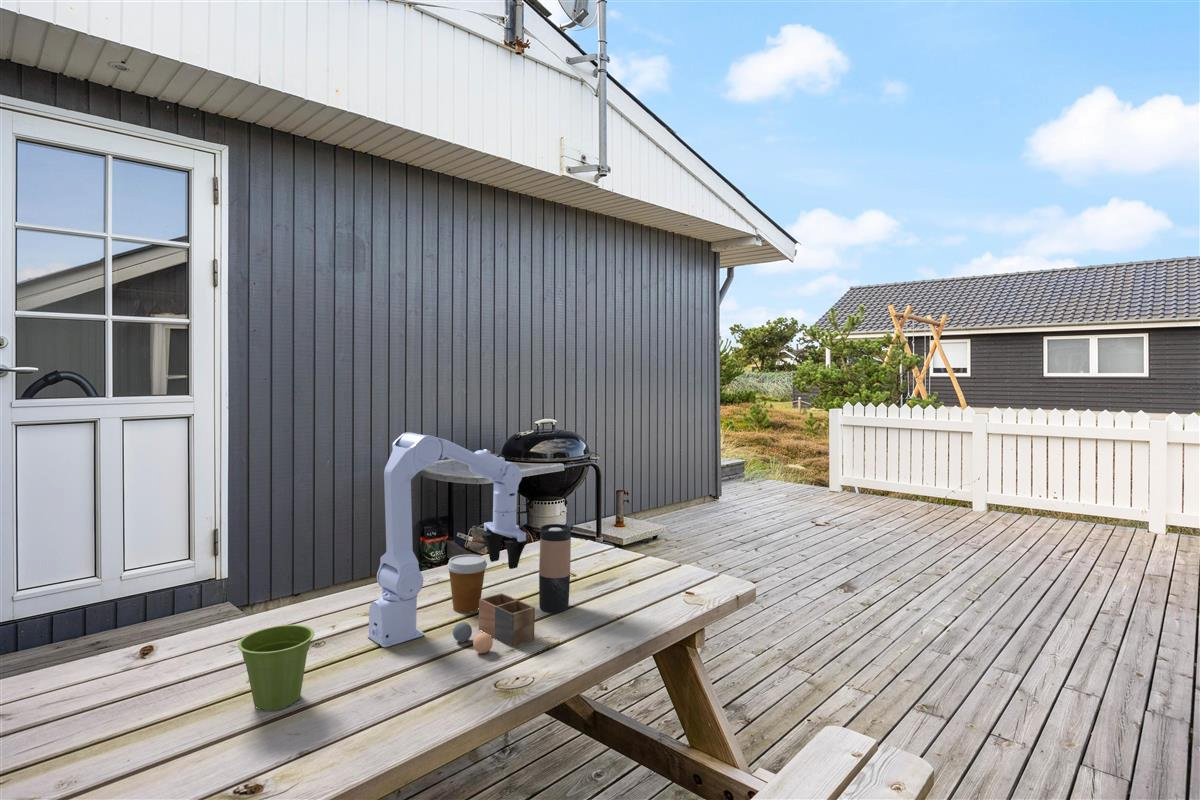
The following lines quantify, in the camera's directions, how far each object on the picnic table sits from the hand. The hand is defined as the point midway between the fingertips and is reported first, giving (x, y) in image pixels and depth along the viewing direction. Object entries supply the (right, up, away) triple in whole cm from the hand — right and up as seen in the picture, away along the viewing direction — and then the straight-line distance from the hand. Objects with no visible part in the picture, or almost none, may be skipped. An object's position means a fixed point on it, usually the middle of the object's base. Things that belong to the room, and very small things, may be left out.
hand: (503, 564), depth 160 cm
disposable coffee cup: (-9, -10, -2) cm, 14 cm away
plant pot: (-32, -12, -48) cm, 59 cm away
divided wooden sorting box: (+3, -11, -17) cm, 21 cm away
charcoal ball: (-6, -11, -21) cm, 25 cm away
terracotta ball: (0, -11, -27) cm, 29 cm away
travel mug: (+12, -11, -1) cm, 16 cm away
